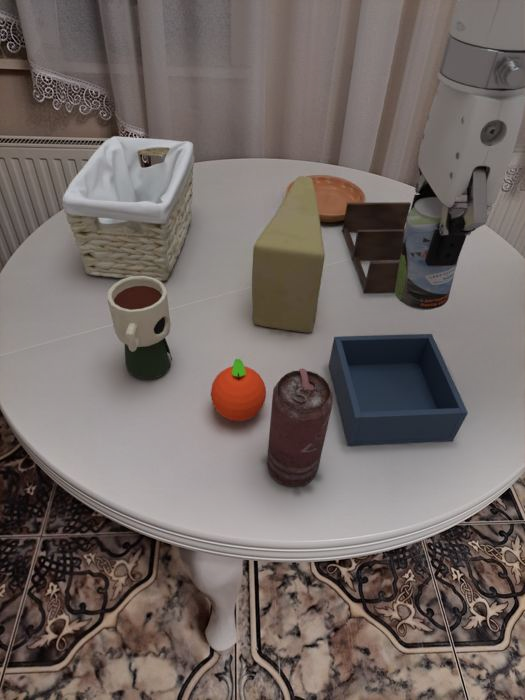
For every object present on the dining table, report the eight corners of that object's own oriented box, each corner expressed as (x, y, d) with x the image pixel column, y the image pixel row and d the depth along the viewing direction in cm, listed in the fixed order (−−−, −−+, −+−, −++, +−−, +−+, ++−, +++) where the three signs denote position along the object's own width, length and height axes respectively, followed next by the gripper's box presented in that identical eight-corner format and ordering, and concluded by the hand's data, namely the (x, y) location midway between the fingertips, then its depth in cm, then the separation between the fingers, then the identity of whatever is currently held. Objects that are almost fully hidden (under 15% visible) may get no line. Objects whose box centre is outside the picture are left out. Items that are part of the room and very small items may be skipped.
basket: (119, 207, 101) (106, 132, 90) (200, 214, 100) (196, 139, 89) (77, 280, 84) (55, 199, 73) (175, 289, 83) (166, 208, 73)
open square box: (420, 362, 74) (431, 333, 69) (453, 441, 64) (468, 412, 60) (328, 365, 72) (334, 336, 68) (347, 446, 63) (355, 417, 59)
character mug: (167, 397, 67) (157, 324, 58) (114, 393, 67) (95, 320, 58) (181, 340, 75) (174, 268, 66) (133, 336, 75) (119, 264, 66)
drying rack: (402, 230, 99) (410, 202, 95) (433, 291, 85) (444, 262, 81) (342, 230, 98) (346, 202, 94) (363, 293, 84) (370, 263, 80)
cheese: (272, 246, 93) (277, 167, 82) (325, 253, 92) (337, 174, 82) (249, 326, 78) (252, 242, 67) (312, 335, 77) (325, 252, 66)
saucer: (368, 229, 98) (371, 215, 96) (285, 226, 98) (287, 212, 96) (357, 189, 110) (360, 176, 108) (284, 186, 109) (285, 173, 107)
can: (310, 439, 63) (324, 362, 53) (323, 484, 59) (341, 409, 49) (262, 445, 62) (268, 368, 53) (272, 491, 58) (280, 416, 48)
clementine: (211, 384, 69) (209, 347, 64) (262, 383, 70) (264, 346, 65) (211, 433, 63) (209, 396, 58) (267, 431, 64) (269, 394, 59)
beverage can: (412, 324, 57) (441, 235, 48) (377, 285, 62) (397, 196, 53) (457, 309, 59) (493, 220, 50) (419, 272, 63) (447, 184, 54)
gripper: (583, 101, 37) (494, 295, 50) (490, 35, 49) (437, 204, 62) (483, 100, 36) (419, 296, 49) (414, 33, 48) (377, 205, 61)
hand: (430, 243), depth 55 cm, fingers closed on beverage can, 6 cm apart
